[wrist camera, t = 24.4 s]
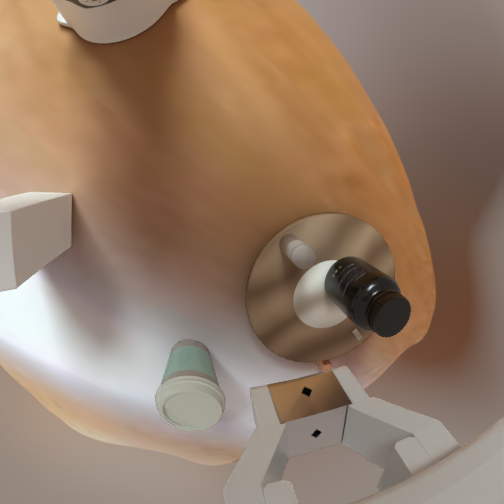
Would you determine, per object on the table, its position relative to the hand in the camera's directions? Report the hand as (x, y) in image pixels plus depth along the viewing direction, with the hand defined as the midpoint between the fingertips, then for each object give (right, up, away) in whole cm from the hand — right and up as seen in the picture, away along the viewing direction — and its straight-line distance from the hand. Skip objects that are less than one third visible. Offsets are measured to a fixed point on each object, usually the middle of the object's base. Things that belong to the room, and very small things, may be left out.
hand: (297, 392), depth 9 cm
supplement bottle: (+11, +1, +32) cm, 34 cm away
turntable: (+9, -1, +33) cm, 34 cm away
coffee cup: (-11, -11, +34) cm, 38 cm away
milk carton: (-28, +9, +26) cm, 39 cm away
